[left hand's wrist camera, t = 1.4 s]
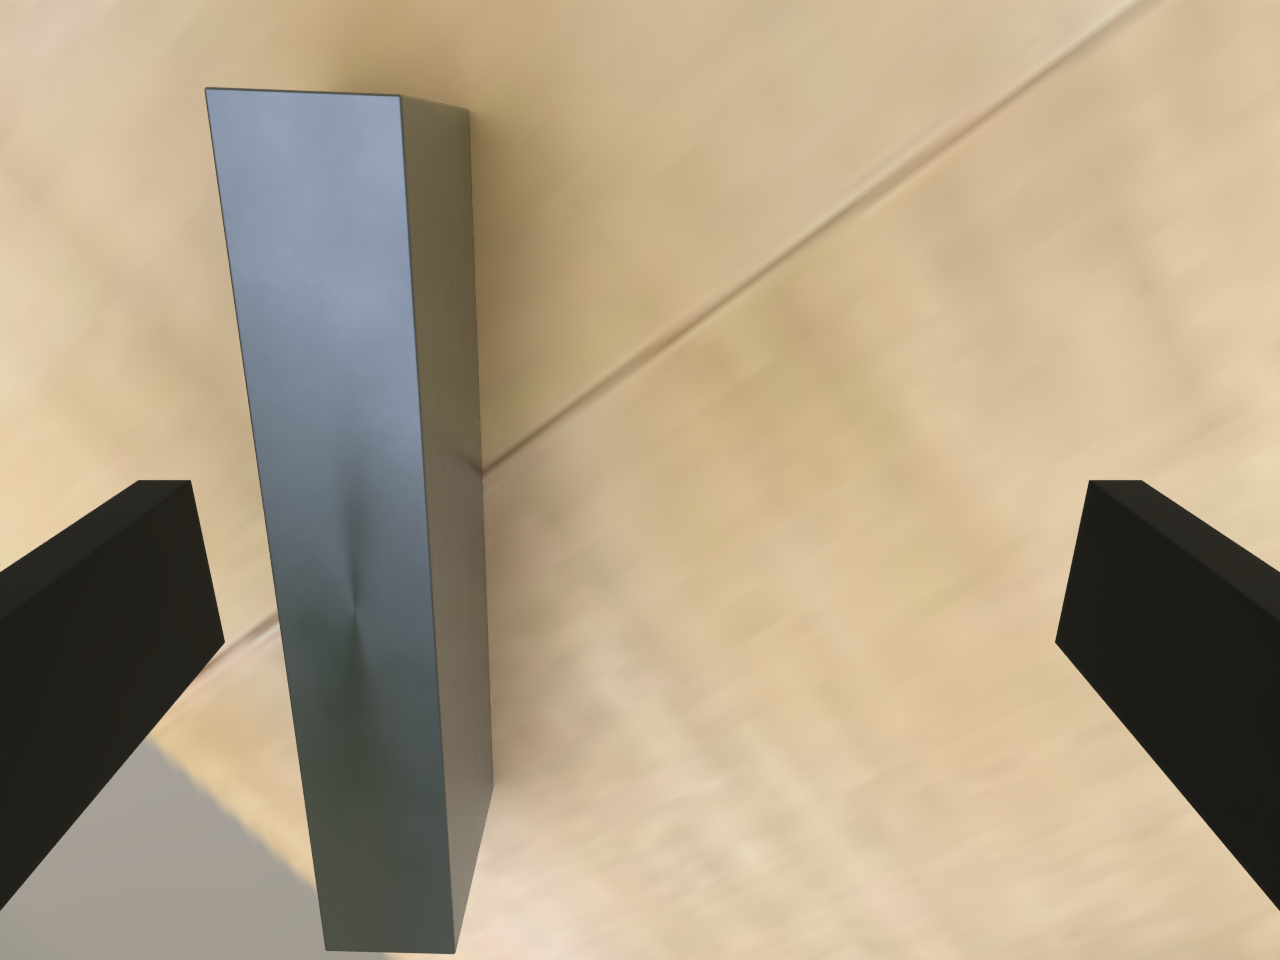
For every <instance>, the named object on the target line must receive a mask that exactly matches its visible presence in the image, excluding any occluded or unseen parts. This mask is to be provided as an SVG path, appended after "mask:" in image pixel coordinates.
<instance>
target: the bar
mask: <svg viewBox="0 0 1280 960" xmlns="http://www.w3.org/2000/svg"><path fill="white" fill-rule="evenodd" d="M205 97H206V104H207V111H208V118H209V125H210V132H211V140H212V147H213V154H214V161H215V168H216V175H217V182H218V189H219V196H220V203H221V211H222V218H223V225H224V232H225V239H226V246H227V253H228V260H229V267H230V275H231V282H232V289H233V296H234V303H235V310H236V317H237V324H238V331H239V338H240V346H241V353H242V360H243V367H244V374H245V381H246V388H247V395H248V402H249V410H250V417H251V424H252V431H253V438H254V445H255V452H256V459H257V466H258V473H259V481H260V488H261V495H262V502H263V509H264V516H265V523H266V530H267V537H268V545H269V552H270V559H271V566H272V573H273V580H274V587H275V594H276V601H277V608H278V616H279V623H280V630H281V637H282V644H283V651H284V658H285V665H286V672H287V680H288V687H289V694H290V701H291V708H292V715H293V722H294V729H295V736H296V743H297V751H298V758H299V765H300V772H301V779H302V786H303V793H304V800H305V807H306V814H307V822H308V829H309V836H310V843H311V850H312V857H313V864H314V871H315V878H316V886H317V893H318V900H319V907H320V914H321V921H322V928H323V935H324V942H325V949H326V951H355V952H393V953H432V954H455V952H456V948H457V944H458V939H459V935H460V931H461V926H462V922H463V918H464V913H465V909H466V905H467V900H468V896H469V891H470V887H471V883H472V878H473V874H474V870H475V865H476V861H477V857H478V852H479V848H480V843H481V839H482V835H483V830H484V826H485V822H486V817H487V813H488V809H489V804H490V800H491V795H492V791H493V769H492V741H491V714H490V686H489V658H488V631H487V603H486V576H485V548H484V520H483V493H482V465H481V437H480V410H479V382H478V354H477V327H476V299H475V272H474V244H473V216H472V189H471V161H470V133H469V111H468V109H465V108H460V107H455V106H451V105H446V104H441V103H437V102H432V101H427V100H423V99H418V98H413V97H409V96H404V95H399V94H375V93H349V92H323V91H297V90H271V89H245V88H219V87H206V88H205Z"/></svg>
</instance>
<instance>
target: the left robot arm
mask: <svg viewBox="0 0 1280 960" xmlns="http://www.w3.org/2000/svg"><path fill="white" fill-rule="evenodd" d="M224 643H225V640H224V635H223V631H222V626H221V621H220V616H219V612H218V607H217V602H216V597H215V593H214V588H213V583H212V578H211V574H210V569H209V564H208V560H207V555H206V550H205V545H204V541H203V536H202V531H201V526H200V522H199V517H198V512H197V507H196V503H195V498H194V493H193V488H192V484H191V480H138V481H137V482H135V483H134V484H132V485H131V486H129V487H128V488H126V489H124V490H123V491H121V492H120V493H118V494H117V495H115V496H114V497H112V498H111V499H109V500H108V501H106V502H105V503H103V504H102V505H100V506H99V507H97V508H96V509H94V510H93V511H91V512H90V513H88V514H87V515H85V516H84V517H82V518H81V519H79V520H78V521H76V522H75V523H73V524H72V525H70V526H69V527H67V528H66V529H64V530H63V531H61V532H60V533H58V534H57V535H55V536H54V537H52V538H51V539H49V540H48V541H46V542H45V543H43V544H42V545H40V546H39V547H37V548H36V549H34V550H33V551H31V552H30V553H28V554H27V555H25V556H24V557H22V558H21V559H19V560H18V561H16V562H15V563H13V564H12V565H10V566H9V567H7V568H6V569H4V570H3V571H1V572H0V910H1V909H2V908H3V907H4V906H5V905H6V903H7V902H8V901H9V900H10V899H11V897H12V896H13V895H14V894H15V893H16V891H17V890H18V889H19V888H20V887H21V885H22V884H23V883H24V882H25V881H26V880H27V878H28V877H29V876H30V875H31V874H32V872H33V871H34V870H35V869H36V868H37V866H38V865H39V864H40V863H41V862H42V860H43V859H44V858H45V857H46V856H47V854H48V853H49V852H50V851H51V850H52V848H53V847H54V846H55V845H56V844H57V842H58V841H59V840H60V839H61V838H62V836H63V835H64V834H65V833H66V832H67V831H68V829H69V828H70V827H71V826H72V825H73V823H74V822H75V821H76V820H77V819H78V817H79V816H80V815H81V814H82V813H83V811H84V810H85V809H86V808H87V807H88V805H89V804H90V803H91V802H92V801H93V799H94V798H95V797H96V796H97V795H98V793H99V792H100V791H101V790H102V789H103V788H104V786H105V785H106V784H107V783H108V782H109V780H110V779H111V778H112V777H113V776H114V774H115V773H116V772H117V771H118V770H119V768H120V767H121V766H122V765H123V764H124V762H125V761H126V760H127V759H128V758H129V756H130V755H131V754H132V753H133V752H134V750H135V749H136V748H137V747H138V746H139V744H140V743H141V742H142V741H143V740H144V739H145V737H146V736H147V735H148V734H149V733H150V731H151V730H152V729H153V728H154V727H155V725H156V724H157V723H158V722H159V721H160V719H161V718H162V717H163V716H164V715H165V713H166V712H167V711H168V710H169V709H170V707H171V706H172V705H173V704H174V703H175V701H176V700H177V699H178V698H179V697H180V696H181V694H182V693H183V692H184V691H185V690H186V688H187V687H188V686H189V685H190V684H191V682H192V681H193V680H194V679H195V678H196V676H197V675H198V674H199V673H200V672H201V670H202V669H203V668H204V667H205V666H206V664H207V663H208V662H209V661H210V660H211V658H212V657H213V656H214V655H215V654H216V653H217V651H218V650H219V649H220V648H221V647H222V645H223V644H224ZM1055 643H1056V644H1057V645H1058V647H1059V648H1060V649H1061V650H1062V651H1063V653H1064V654H1065V655H1066V656H1067V657H1068V658H1069V660H1070V661H1071V662H1072V663H1073V664H1074V666H1075V667H1076V668H1077V669H1078V670H1079V672H1080V673H1081V674H1082V675H1083V676H1084V678H1085V679H1086V680H1087V681H1088V682H1089V684H1090V685H1091V686H1092V687H1093V688H1094V690H1095V691H1096V692H1097V693H1098V694H1099V696H1100V697H1101V698H1102V699H1103V700H1104V701H1105V703H1106V704H1107V705H1108V706H1109V707H1110V709H1111V710H1112V711H1113V712H1114V713H1115V715H1116V716H1117V717H1118V718H1119V719H1120V721H1121V722H1122V723H1123V724H1124V725H1125V727H1126V728H1127V729H1128V730H1129V731H1130V733H1131V734H1132V735H1133V736H1134V737H1135V739H1136V740H1137V741H1138V742H1139V743H1140V745H1141V746H1142V747H1143V748H1144V749H1145V750H1146V752H1147V753H1148V754H1149V755H1150V756H1151V758H1152V759H1153V760H1154V761H1155V762H1156V764H1157V765H1158V766H1159V767H1160V768H1161V770H1162V771H1163V772H1164V773H1165V774H1166V776H1167V777H1168V778H1169V779H1170V780H1171V782H1172V783H1173V784H1174V785H1175V786H1176V788H1177V789H1178V790H1179V791H1180V792H1181V793H1182V795H1183V796H1184V797H1185V798H1186V799H1187V801H1188V802H1189V803H1190V804H1191V805H1192V807H1193V808H1194V809H1195V810H1196V811H1197V813H1198V814H1199V815H1200V816H1201V817H1202V819H1203V820H1204V821H1205V822H1206V823H1207V825H1208V826H1209V827H1210V828H1211V829H1212V831H1213V832H1214V833H1215V834H1216V835H1217V836H1218V838H1219V839H1220V840H1221V841H1222V842H1223V844H1224V845H1225V846H1226V847H1227V848H1228V850H1229V851H1230V852H1231V853H1232V854H1233V856H1234V857H1235V858H1236V859H1237V860H1238V862H1239V863H1240V864H1241V865H1242V866H1243V868H1244V869H1245V870H1246V871H1247V872H1248V874H1249V875H1250V876H1251V877H1252V878H1253V880H1254V881H1255V882H1256V883H1257V884H1258V885H1259V887H1260V888H1261V889H1262V890H1263V891H1264V893H1265V894H1266V895H1267V896H1268V897H1269V899H1270V900H1271V901H1272V902H1273V903H1274V905H1275V906H1276V907H1277V908H1278V909H1279V911H1280V572H1279V571H1277V570H1276V569H1274V568H1273V567H1271V566H1270V565H1268V564H1267V563H1265V562H1264V561H1262V560H1261V559H1259V558H1258V557H1256V556H1255V555H1253V554H1252V553H1250V552H1249V551H1247V550H1246V549H1244V548H1243V547H1241V546H1240V545H1238V544H1237V543H1235V542H1234V541H1232V540H1231V539H1229V538H1228V537H1226V536H1225V535H1223V534H1222V533H1220V532H1219V531H1217V530H1216V529H1214V528H1213V527H1211V526H1210V525H1208V524H1207V523H1205V522H1204V521H1202V520H1201V519H1199V518H1198V517H1196V516H1195V515H1193V514H1192V513H1190V512H1189V511H1187V510H1186V509H1184V508H1183V507H1181V506H1180V505H1178V504H1177V503H1175V502H1174V501H1172V500H1171V499H1169V498H1168V497H1166V496H1165V495H1163V494H1162V493H1160V492H1159V491H1157V490H1156V489H1154V488H1152V487H1151V486H1149V485H1148V484H1146V483H1145V482H1143V481H1142V480H1089V484H1088V488H1087V493H1086V498H1085V503H1084V507H1083V512H1082V517H1081V522H1080V526H1079V531H1078V536H1077V541H1076V545H1075V550H1074V555H1073V559H1072V564H1071V569H1070V574H1069V578H1068V583H1067V588H1066V593H1065V597H1064V602H1063V607H1062V612H1061V616H1060V621H1059V626H1058V631H1057V635H1056V640H1055Z"/></svg>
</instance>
